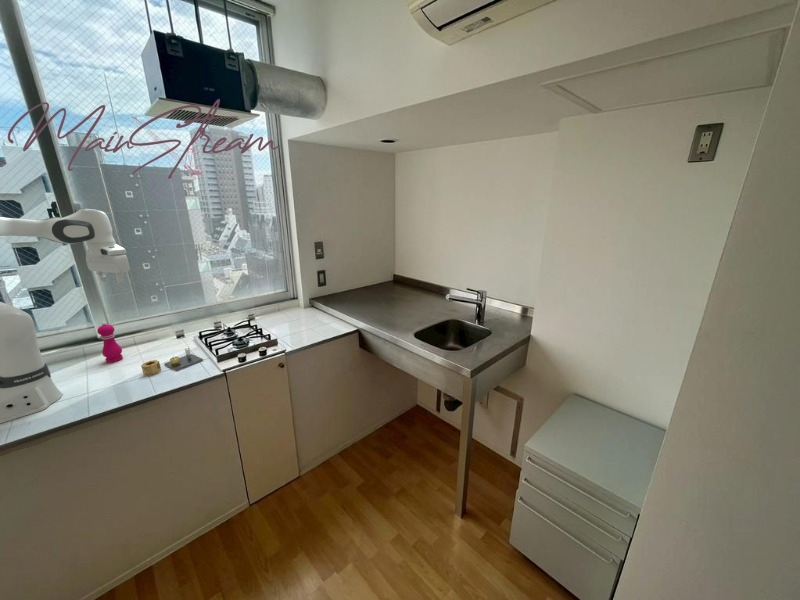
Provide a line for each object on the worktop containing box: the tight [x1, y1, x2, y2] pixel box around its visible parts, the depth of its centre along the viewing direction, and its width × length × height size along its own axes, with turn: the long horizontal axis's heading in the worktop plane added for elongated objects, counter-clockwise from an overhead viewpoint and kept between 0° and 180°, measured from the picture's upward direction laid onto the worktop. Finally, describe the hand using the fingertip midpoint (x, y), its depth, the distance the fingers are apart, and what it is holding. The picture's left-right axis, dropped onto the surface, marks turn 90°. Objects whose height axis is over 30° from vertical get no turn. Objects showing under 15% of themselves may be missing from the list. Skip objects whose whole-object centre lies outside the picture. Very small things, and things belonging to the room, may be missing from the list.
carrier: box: [164, 347, 204, 372], centre depth 151 cm, size 12×11×6 cm
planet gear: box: [141, 359, 162, 377], centre depth 143 cm, size 6×6×4 cm
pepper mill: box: [97, 321, 124, 364], centre depth 152 cm, size 7×7×20 cm
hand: (112, 282), depth 134 cm, fingers open, 8 cm apart
